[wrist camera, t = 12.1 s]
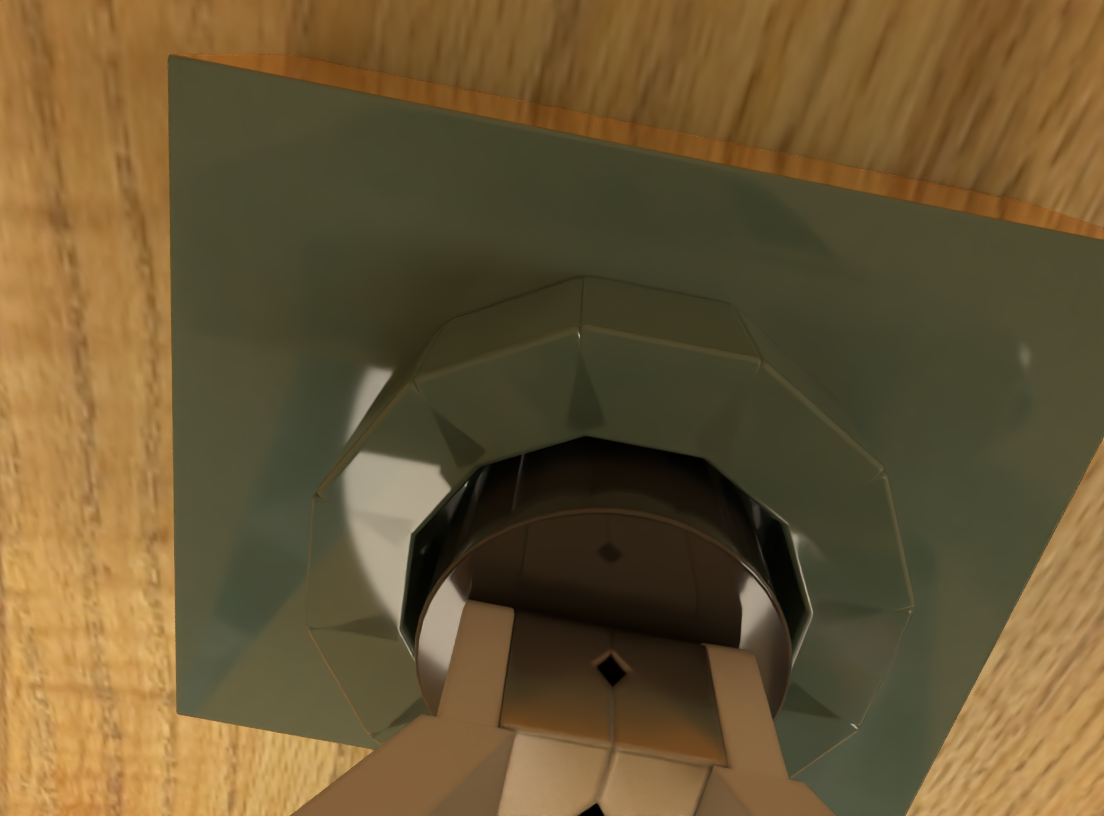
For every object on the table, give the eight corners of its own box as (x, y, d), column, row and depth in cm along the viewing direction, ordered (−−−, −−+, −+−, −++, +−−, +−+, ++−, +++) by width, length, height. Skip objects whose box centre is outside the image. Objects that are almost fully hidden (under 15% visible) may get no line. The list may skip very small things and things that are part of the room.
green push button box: (1028, 201, 13) (1348, 309, 7) (828, 674, 17) (939, 970, 11) (291, 54, 13) (53, 51, 7) (268, 570, 17) (105, 823, 11)
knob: (798, 454, 10) (847, 551, 8) (711, 703, 11) (733, 834, 9) (469, 391, 9) (437, 475, 8) (429, 652, 11) (394, 774, 9)
